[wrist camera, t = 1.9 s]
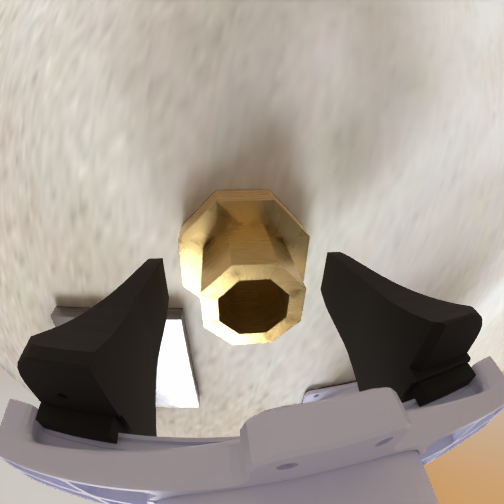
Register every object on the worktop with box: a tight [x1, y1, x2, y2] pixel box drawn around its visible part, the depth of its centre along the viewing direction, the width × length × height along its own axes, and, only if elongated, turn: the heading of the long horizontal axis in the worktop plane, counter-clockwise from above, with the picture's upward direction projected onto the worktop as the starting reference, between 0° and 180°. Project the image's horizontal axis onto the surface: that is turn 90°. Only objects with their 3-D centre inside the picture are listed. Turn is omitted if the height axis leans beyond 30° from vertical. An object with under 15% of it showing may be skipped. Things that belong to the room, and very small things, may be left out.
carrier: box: [51, 307, 200, 408], centre depth 16 cm, size 9×10×5 cm
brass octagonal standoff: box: [178, 190, 310, 345], centre depth 12 cm, size 6×6×5 cm
